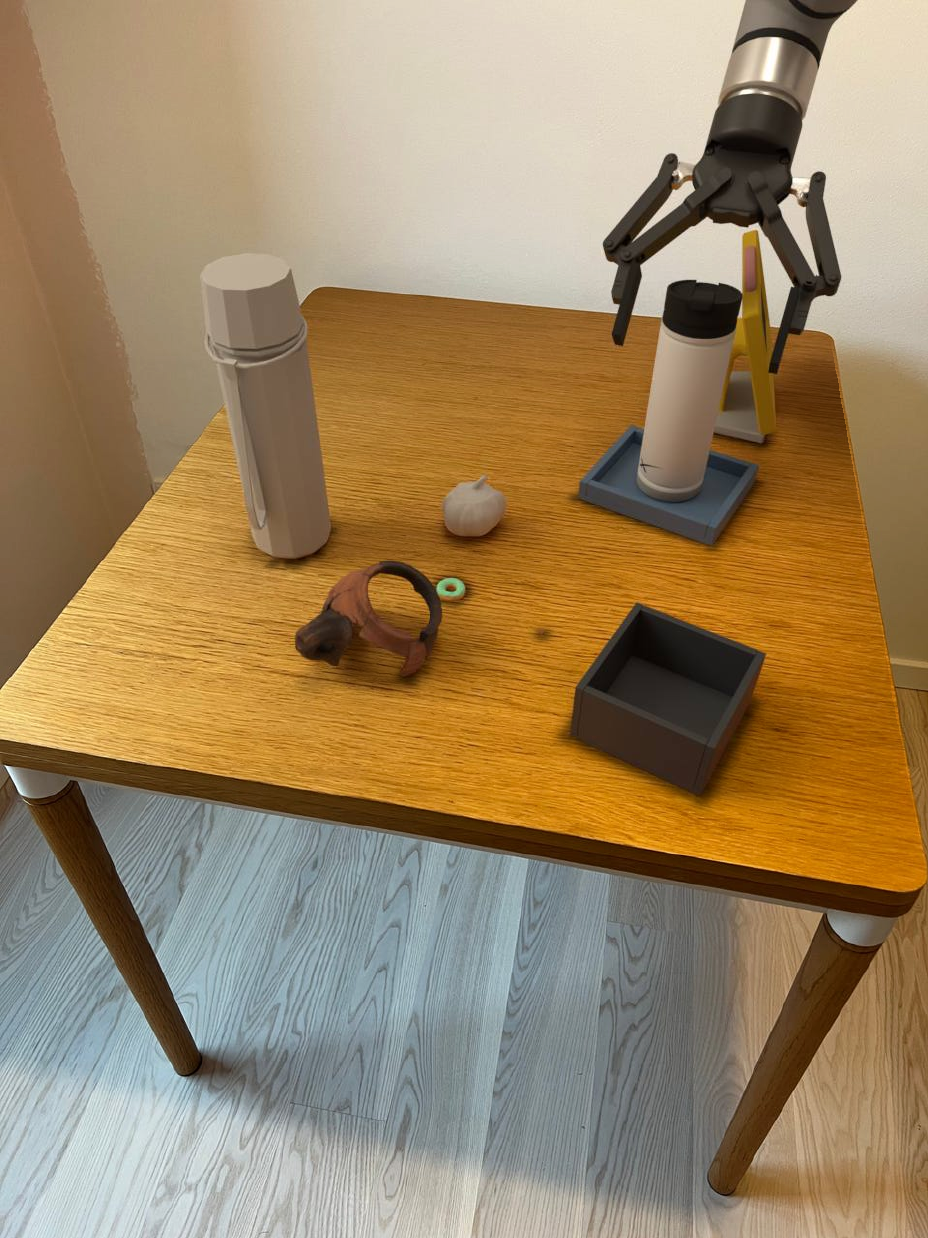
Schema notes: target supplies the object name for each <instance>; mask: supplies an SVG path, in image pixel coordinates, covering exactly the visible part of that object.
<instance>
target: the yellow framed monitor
mask: <svg viewBox="0 0 928 1238" xmlns="http://www.w3.org/2000/svg"><path fill="white" fill-rule="evenodd" d="M762 259H763V257H762V249H761V244H760V234H759V230H757V229H753V230H750V231H747V232H743V234H742V236H741V277H742V278H741V293H742V295H743V297H742V302H741V317H737V328H736V332H735V337H734V342H733V346H732V351H731V355H730V360H729V364H728V369H727V374H726V378H725V383H724V387H723V392H722V396H721V401H720V406H719V410H718V415H717V419H716V424H715V428H714V433H713V434H717V435H721V436H725V437H731V438H735V439H740V440H744V441H749V442H753V443H757V444H763V443H764V441H765V437H766V435H770V434H775V433H776V432H777V418H776V397H775V377H774V375H775V374H773V373H768V371H769V365H770V360H771V357H772V353H773V338H772V330H771V329H772V328H771V322H770V313H769V305H768V298H767V297H768V296H767V291H766V290H767V289H766V282H765V274H764V267H763V260H762ZM742 356H745V357H746V356H747V361H748V367H749V370H748V371H747V370H742V371H741V370H740V371H739V370H738V371H737V370H736V371H734V370H733V366H734V361H735V360H736V359H737V358H738V357H742Z"/></svg>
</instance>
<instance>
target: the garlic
mask: <svg viewBox="0 0 928 1238" xmlns="http://www.w3.org/2000/svg"><path fill="white" fill-rule="evenodd" d="M488 479H489V477H488V476H487V474H484V475H482V476H480V477H479V478H478V480H476V481H463V482H459V483H458V484H457V485H456V486H455V487H454V488H452V489H451V490H450V491H449V492H448V493H447V494H446V495H445V497H444V498H443V500H442V504H441V505H442V506H441V509H442V513H443V521H444V525H445V527H446V529H447V530H448V531H449V532H450V533H452V534H454V535H456V536H459V537H482V536H484V535H486V534H488V533H489V532H491V531H492V529H494V528H495V527H496V526H497V525H498V524H499V522H500V521H501V520H502V519H503V518H504V516H505V514H506V512H507V507H508V504H507V503H508V502H507V498H506V496H505V495H504V493H502V491H500V490H498V489H496V488H494V487H492V486H491V485H490V484H488V483H485V482H487V481H488Z"/></svg>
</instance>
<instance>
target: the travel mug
mask: <svg viewBox="0 0 928 1238" xmlns="http://www.w3.org/2000/svg"><path fill="white" fill-rule="evenodd" d="M742 297H743V295H742V290H739V289H738V288H737V287H734V286H733V285H730V284H726V283H722V282H718V284H716V283H711V282H705V281H704V282H703V281H697V279H681V280H675V281H673V282H671V283H669V284H668V285H667V287H666V292H665V299H664V306H663V312H662V316H661V321H660V327H659V333H658V340H657V346H656V351H655V352H656V353H655V359H654V365H653V366H654V367H653V370H652V371H653V372H652V378H651V384H650V391H649V396H648V397H649V398H648V402H647V410H646V416H645V422H644V428H643V429H644V434H643V441H642V447H641V453H640V460H639V466H638V472H637V484H638V486H639V488H640V489H641V490H642V491H643V492H644V493H645V494H647V495H648V496H650V497H652V498H655V499H657V500H661V501H666V502H680V501H685V500H689V499H691V498H693V497H695V496H696V495H697V494H698V493H699V492H700V490H701V488H702V483H703V479H704V474H705V470H706V465H707V460H708V456H709V451H710V450H711V446H712V441H713V437H714V434H715V433H714V428H715V424H716V419H717V415H718V410H719V406H720V401H721V396H722V392H723V387H724V383H725V378H726V374H727V369H728V364H729V360H730V355H731V351H732V346H733V342H734V337H735V332H736V328H737V318H739V315H740V310H741V307H742Z"/></svg>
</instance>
